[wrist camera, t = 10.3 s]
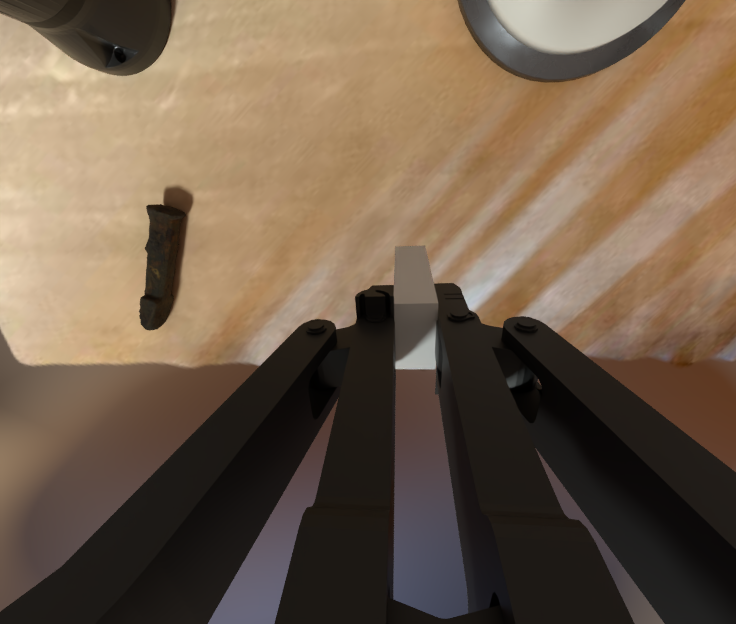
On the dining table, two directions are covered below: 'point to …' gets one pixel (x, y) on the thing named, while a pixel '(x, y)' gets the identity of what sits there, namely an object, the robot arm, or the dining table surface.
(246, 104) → the dining table surface
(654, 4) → the dial
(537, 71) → the dial base
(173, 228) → the hand tool
